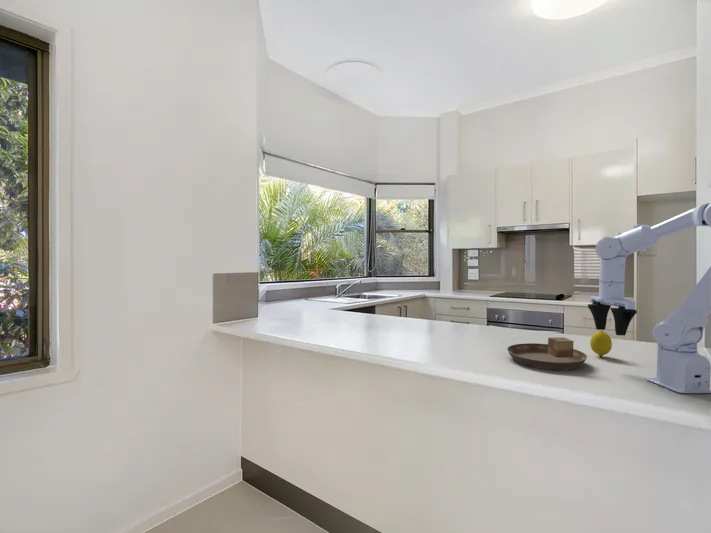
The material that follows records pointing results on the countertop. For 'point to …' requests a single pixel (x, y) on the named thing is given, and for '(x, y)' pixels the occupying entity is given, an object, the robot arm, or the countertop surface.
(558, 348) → the walnut block
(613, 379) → the countertop surface
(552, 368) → the plant saucer
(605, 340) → the lemon
